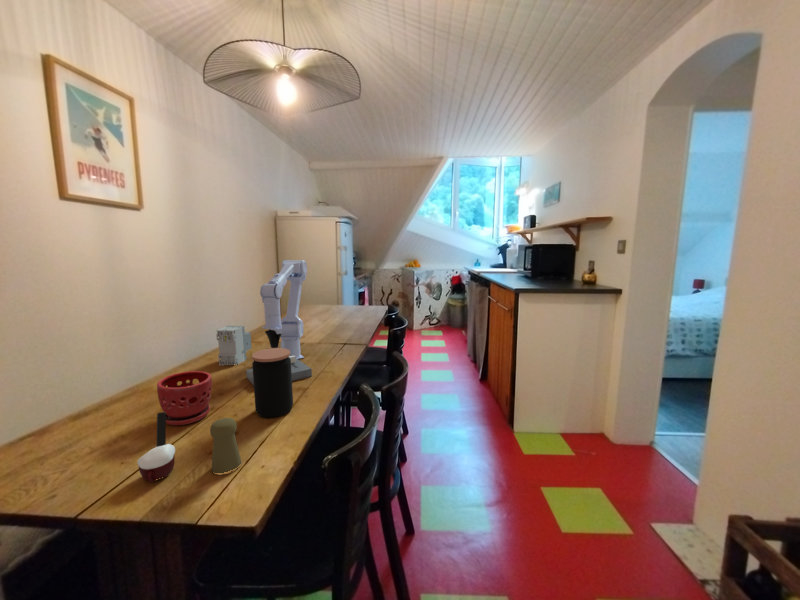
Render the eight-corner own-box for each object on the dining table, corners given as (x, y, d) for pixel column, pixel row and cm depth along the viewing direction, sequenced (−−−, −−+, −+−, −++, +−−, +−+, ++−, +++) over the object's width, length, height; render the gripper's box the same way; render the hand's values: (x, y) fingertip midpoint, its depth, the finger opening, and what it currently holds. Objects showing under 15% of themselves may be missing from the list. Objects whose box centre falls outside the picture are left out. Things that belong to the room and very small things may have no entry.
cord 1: (250, 370, 135) (250, 366, 135) (254, 369, 136) (254, 365, 136) (255, 375, 129) (254, 371, 129) (259, 374, 130) (259, 370, 130)
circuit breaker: (254, 355, 154) (251, 323, 151) (235, 365, 140) (233, 330, 137) (238, 354, 154) (236, 322, 152) (219, 365, 140) (215, 330, 138)
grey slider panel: (246, 377, 127) (246, 369, 127) (298, 366, 139) (297, 358, 139) (257, 389, 116) (256, 381, 116) (311, 376, 128) (311, 368, 128)
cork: (218, 458, 78) (214, 414, 76) (245, 457, 79) (242, 413, 77) (206, 476, 72) (201, 428, 71) (235, 474, 73) (231, 427, 71)
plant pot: (157, 434, 88) (152, 391, 87) (165, 412, 100) (160, 374, 98) (214, 422, 94) (210, 382, 93) (215, 403, 106) (211, 367, 104)
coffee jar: (300, 405, 105) (297, 349, 102) (277, 422, 95) (274, 360, 92) (272, 400, 108) (269, 346, 105) (247, 415, 98) (243, 356, 95)
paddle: (286, 362, 133) (286, 357, 133) (294, 361, 135) (294, 355, 135) (287, 363, 132) (287, 358, 132) (295, 362, 134) (295, 356, 134)
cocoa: (156, 491, 68) (149, 438, 66) (128, 488, 69) (120, 436, 66) (189, 460, 78) (184, 413, 75) (164, 458, 78) (158, 411, 76)
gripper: (256, 312, 133) (258, 345, 136) (267, 318, 122) (270, 354, 124) (274, 310, 138) (276, 342, 140) (287, 316, 126) (288, 351, 128)
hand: (274, 348), depth 132 cm, fingers closed
